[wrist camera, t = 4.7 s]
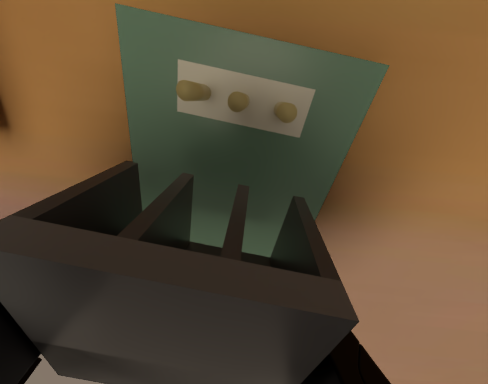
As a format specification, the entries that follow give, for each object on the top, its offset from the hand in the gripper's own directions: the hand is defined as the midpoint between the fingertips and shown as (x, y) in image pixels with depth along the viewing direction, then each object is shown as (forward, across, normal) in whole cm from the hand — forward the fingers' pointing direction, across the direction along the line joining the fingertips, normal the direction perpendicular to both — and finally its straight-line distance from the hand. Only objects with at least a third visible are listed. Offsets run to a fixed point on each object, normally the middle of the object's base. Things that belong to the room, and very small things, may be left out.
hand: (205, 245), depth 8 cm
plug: (+1, 0, 0) cm, 1 cm away
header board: (+7, 0, +1) cm, 7 cm away
